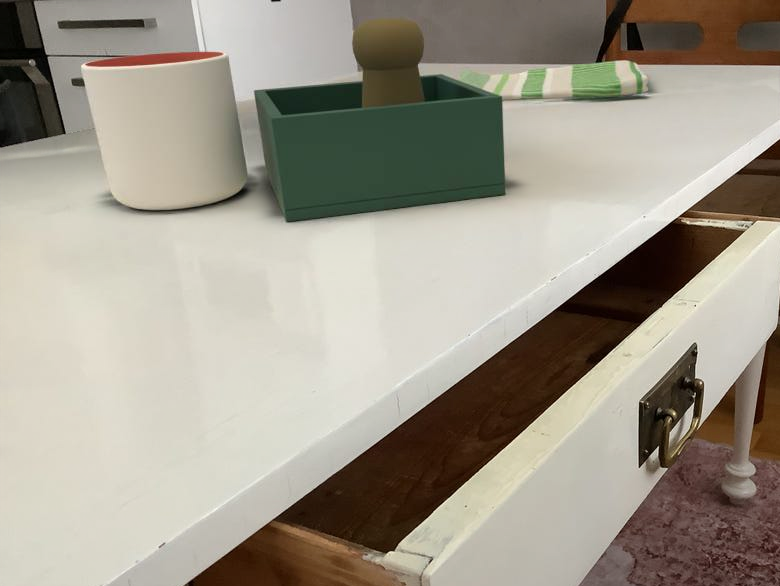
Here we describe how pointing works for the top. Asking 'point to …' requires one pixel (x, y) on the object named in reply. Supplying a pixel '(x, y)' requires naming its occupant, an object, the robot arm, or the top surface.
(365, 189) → the tub
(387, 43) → the cork
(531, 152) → the top surface
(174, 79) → the cup
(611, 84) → the dish towel
